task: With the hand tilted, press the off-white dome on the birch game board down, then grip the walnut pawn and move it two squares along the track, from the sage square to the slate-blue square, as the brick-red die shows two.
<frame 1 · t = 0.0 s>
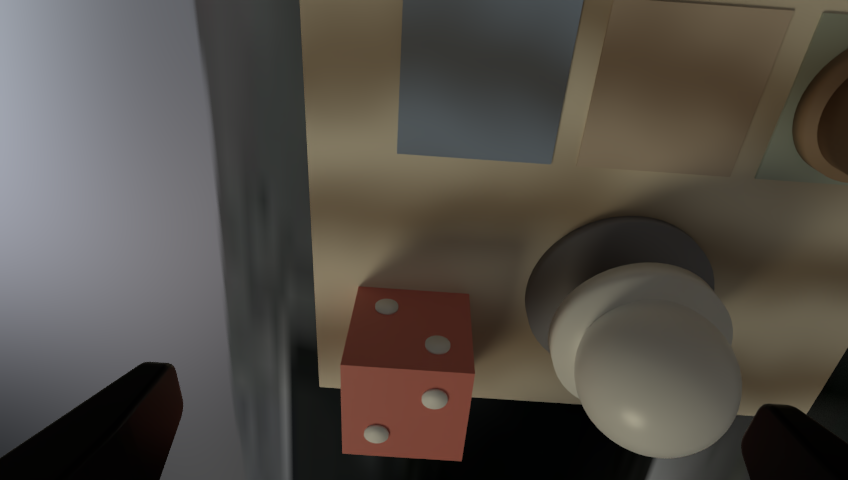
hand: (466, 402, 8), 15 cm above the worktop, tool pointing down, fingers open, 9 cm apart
game board: (602, 223, 23), on the worktop
dome: (653, 375, 19), point 6 cm above the worktop, slide at 0.0 cm
die: (412, 319, 26), resting on game board
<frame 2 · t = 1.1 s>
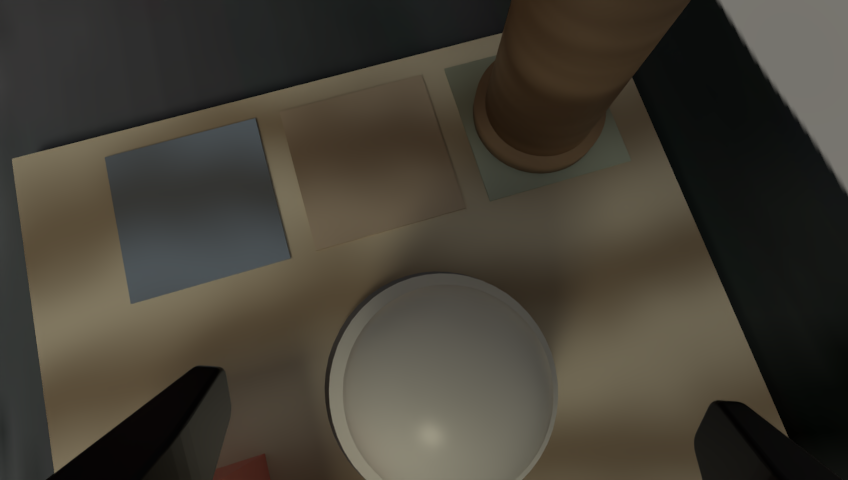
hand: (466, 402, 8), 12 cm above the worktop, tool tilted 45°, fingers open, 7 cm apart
game board: (389, 314, 21), on the worktop
dome: (447, 388, 14), point 6 cm above the worktop, slide at 0.0 cm
pawn: (536, 113, 22), point 1 cm above the worktop, touching game board
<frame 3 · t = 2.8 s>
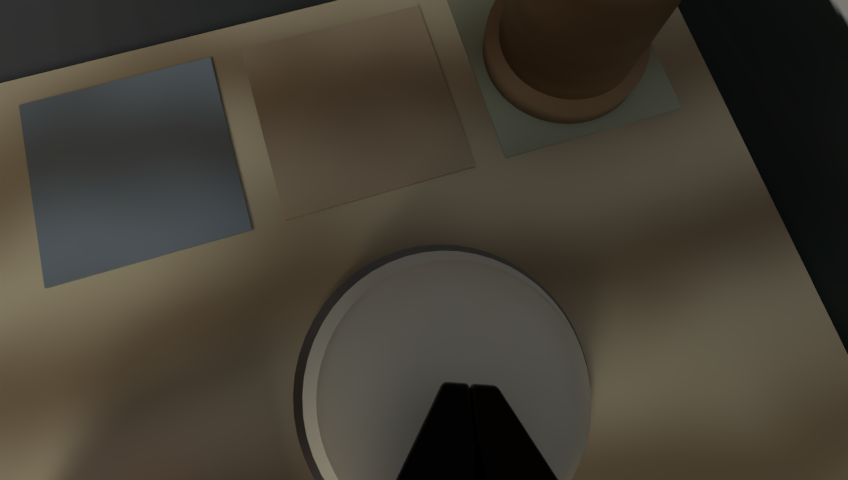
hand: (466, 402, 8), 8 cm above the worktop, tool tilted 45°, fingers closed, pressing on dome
game board: (379, 301, 16), on the worktop
dome: (451, 393, 11), point 5 cm above the worktop, slide at 1.2 cm, touching gripper
pawn: (561, 51, 17), point 1 cm above the worktop, touching game board
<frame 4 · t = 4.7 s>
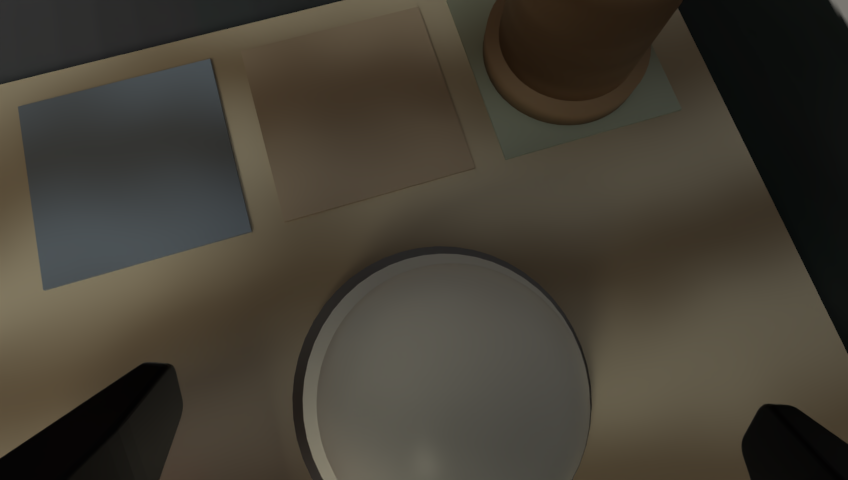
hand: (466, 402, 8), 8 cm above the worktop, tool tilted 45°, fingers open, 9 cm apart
game board: (379, 303, 16), on the worktop
dome: (451, 395, 11), point 5 cm above the worktop, slide at 1.3 cm
pawn: (561, 52, 17), point 1 cm above the worktop, touching game board
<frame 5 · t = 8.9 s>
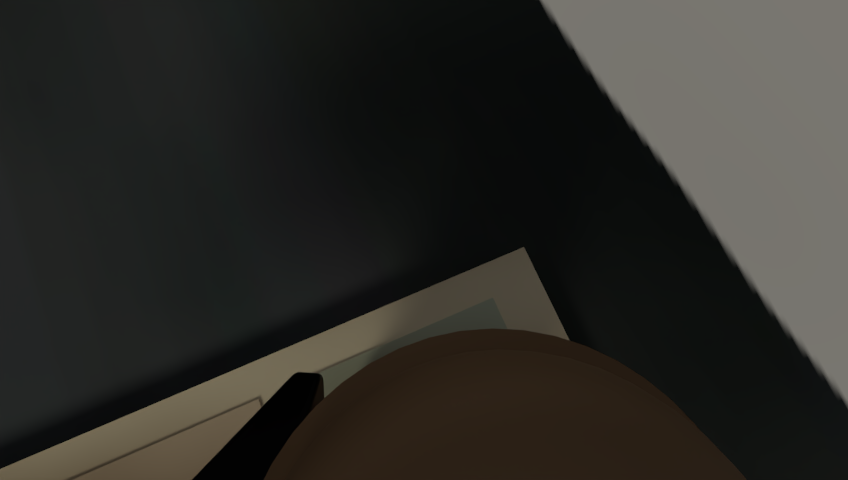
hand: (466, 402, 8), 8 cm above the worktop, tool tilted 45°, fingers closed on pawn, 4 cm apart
pawn: (438, 444, 14), point 1 cm above the worktop, touching game board, gripper
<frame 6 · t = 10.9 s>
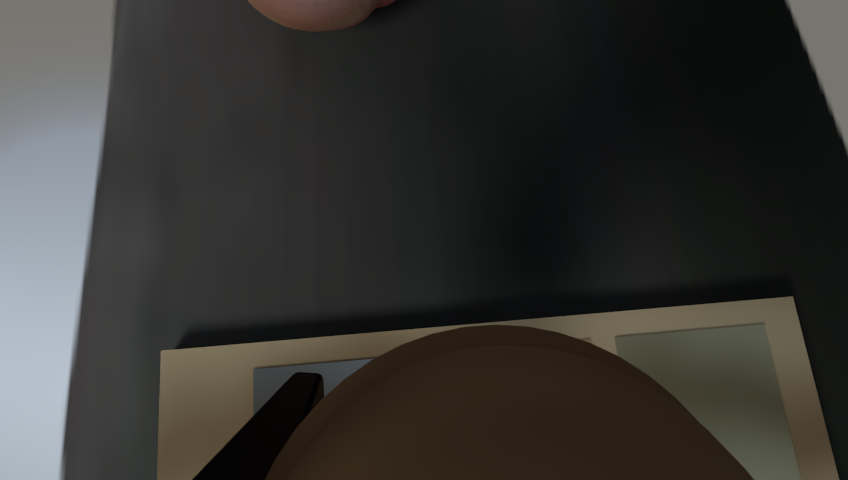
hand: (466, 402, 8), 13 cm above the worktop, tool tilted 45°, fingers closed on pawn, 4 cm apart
decorative fruit: (341, 0, 26), on the worktop
pawn: (439, 443, 14), point 7 cm above the worktop, touching gripper
when the fingers open (8 cm above the worktop, at t = 12.9 s): pawn stays where it is, resting on game board.
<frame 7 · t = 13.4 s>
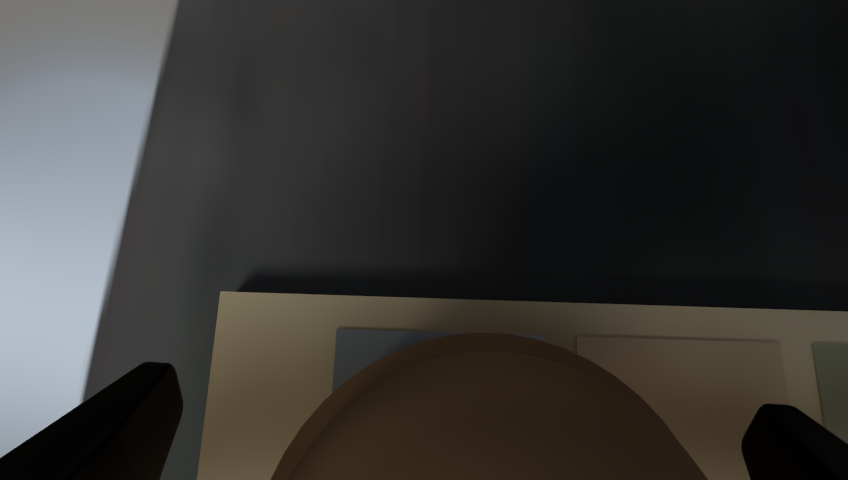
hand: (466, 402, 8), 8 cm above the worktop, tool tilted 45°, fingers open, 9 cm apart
pawn: (437, 443, 15), point 1 cm above the worktop, touching game board
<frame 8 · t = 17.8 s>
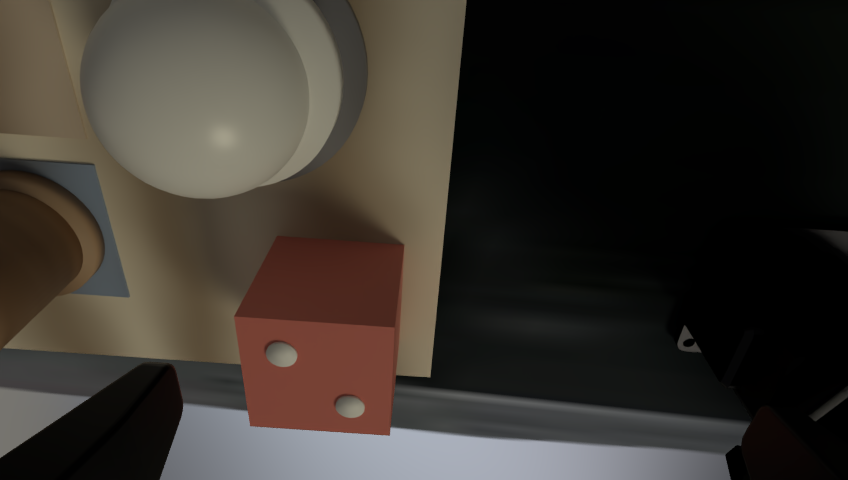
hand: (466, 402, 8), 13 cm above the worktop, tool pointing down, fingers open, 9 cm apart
game board: (174, 80, 19), on the worktop
dome: (203, 94, 14), point 5 cm above the worktop, slide at 1.3 cm
die: (345, 278, 23), resting on game board
pawn: (36, 231, 21), point 1 cm above the worktop, touching game board
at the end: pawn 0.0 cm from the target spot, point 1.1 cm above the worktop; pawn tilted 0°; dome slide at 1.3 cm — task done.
